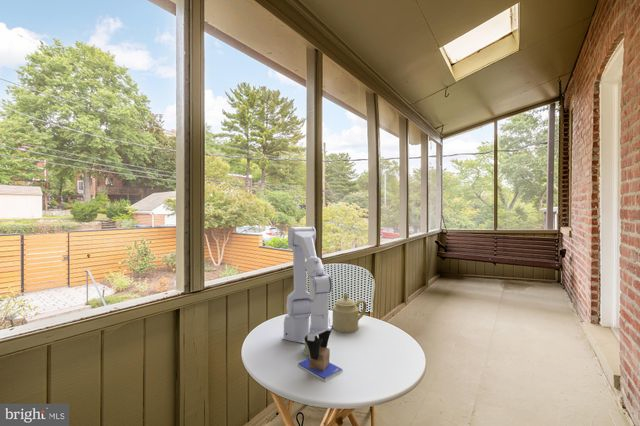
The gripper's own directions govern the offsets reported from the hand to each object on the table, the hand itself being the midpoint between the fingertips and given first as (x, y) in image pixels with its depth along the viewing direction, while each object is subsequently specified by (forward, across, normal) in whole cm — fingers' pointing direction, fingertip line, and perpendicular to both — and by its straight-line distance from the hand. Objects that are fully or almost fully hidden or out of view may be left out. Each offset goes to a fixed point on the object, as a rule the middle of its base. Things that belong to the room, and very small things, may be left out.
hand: (318, 353), depth 104 cm
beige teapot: (+5, +36, +1) cm, 36 cm away
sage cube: (+5, +9, +6) cm, 12 cm away
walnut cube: (+4, 0, 0) cm, 4 cm away
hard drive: (+6, 0, -1) cm, 6 cm away
